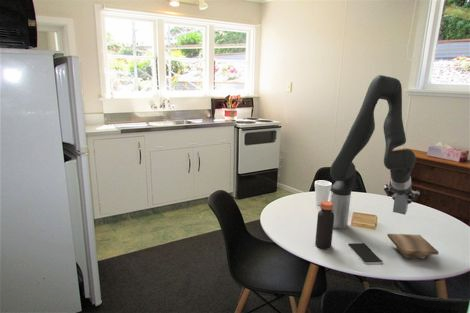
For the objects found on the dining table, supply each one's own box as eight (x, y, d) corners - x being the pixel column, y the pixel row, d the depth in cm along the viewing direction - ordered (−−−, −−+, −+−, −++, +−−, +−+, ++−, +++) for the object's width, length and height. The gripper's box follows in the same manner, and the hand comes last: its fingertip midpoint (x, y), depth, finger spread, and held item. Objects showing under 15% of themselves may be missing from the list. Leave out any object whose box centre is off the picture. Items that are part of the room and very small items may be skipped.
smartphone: (364, 242, 137) (383, 261, 122) (364, 245, 137) (383, 264, 123) (347, 243, 136) (364, 262, 122) (346, 245, 136) (364, 265, 122)
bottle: (313, 241, 139) (317, 199, 134) (328, 241, 138) (332, 200, 134) (317, 249, 132) (321, 206, 127) (332, 249, 132) (337, 206, 127)
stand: (401, 261, 124) (402, 250, 123) (386, 243, 138) (387, 233, 137) (436, 262, 124) (438, 251, 123) (418, 244, 137) (419, 234, 136)
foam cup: (311, 200, 185) (312, 180, 182) (325, 200, 186) (327, 180, 183) (316, 207, 176) (318, 185, 173) (332, 206, 177) (334, 185, 174)
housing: (405, 214, 136) (408, 193, 133) (392, 211, 138) (395, 190, 136) (407, 211, 139) (410, 190, 137) (395, 208, 142) (397, 187, 140)
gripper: (422, 177, 124) (422, 197, 137) (384, 171, 133) (387, 190, 145) (418, 193, 122) (418, 212, 134) (379, 185, 130) (383, 204, 142)
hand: (402, 200), depth 139 cm, fingers closed on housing, 5 cm apart
